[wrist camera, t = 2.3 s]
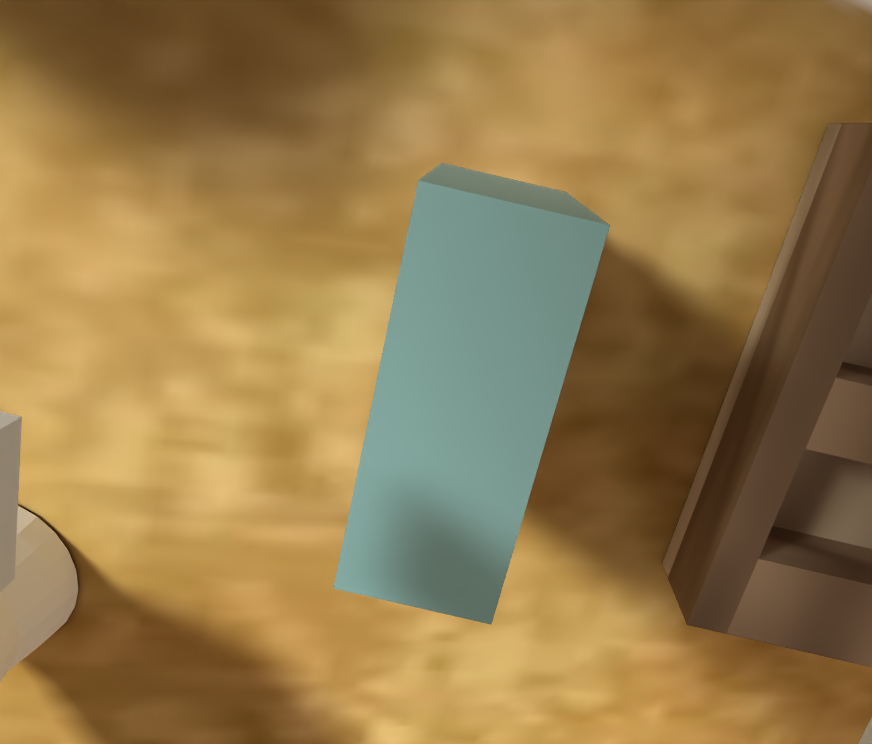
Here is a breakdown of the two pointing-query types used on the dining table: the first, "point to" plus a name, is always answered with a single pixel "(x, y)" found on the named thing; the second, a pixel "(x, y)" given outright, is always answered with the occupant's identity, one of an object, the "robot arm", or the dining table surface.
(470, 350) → the long teal block
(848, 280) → the brown wooden slotted block
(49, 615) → the cup
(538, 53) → the dining table surface
